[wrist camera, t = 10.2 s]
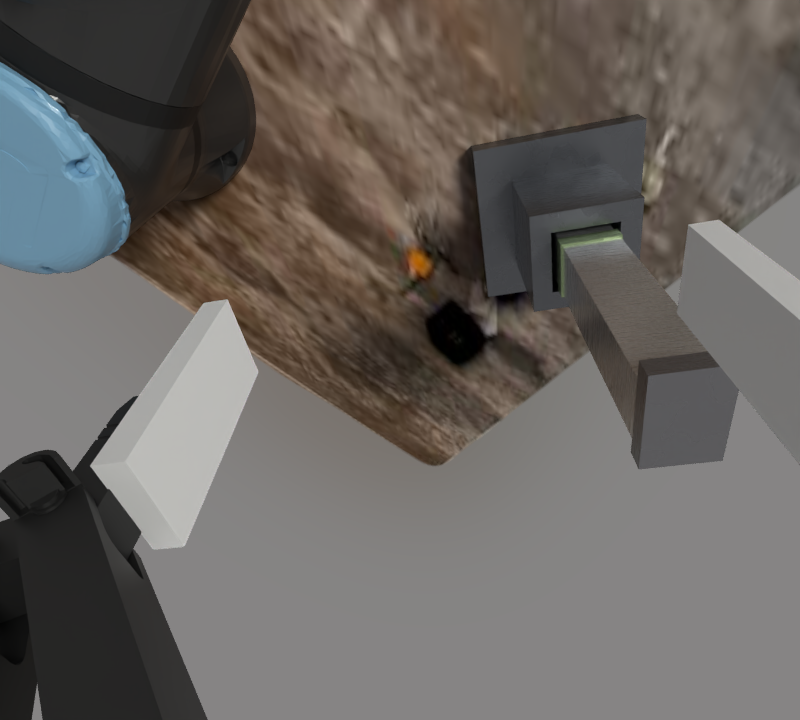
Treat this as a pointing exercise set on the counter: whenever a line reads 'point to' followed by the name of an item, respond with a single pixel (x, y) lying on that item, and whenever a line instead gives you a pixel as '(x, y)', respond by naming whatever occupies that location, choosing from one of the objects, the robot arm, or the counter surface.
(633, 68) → the counter surface
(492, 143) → the stand base
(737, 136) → the counter surface
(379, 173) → the counter surface
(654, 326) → the grey rectangular bar
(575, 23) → the counter surface
